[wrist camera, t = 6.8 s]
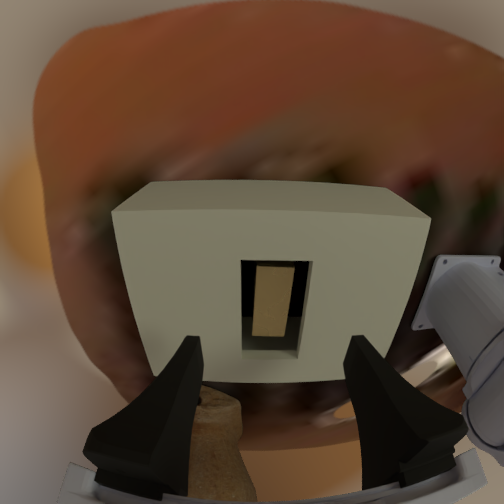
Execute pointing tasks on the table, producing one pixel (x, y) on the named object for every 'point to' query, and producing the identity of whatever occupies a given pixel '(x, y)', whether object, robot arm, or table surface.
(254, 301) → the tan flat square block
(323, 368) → the box
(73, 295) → the table surface
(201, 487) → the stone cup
